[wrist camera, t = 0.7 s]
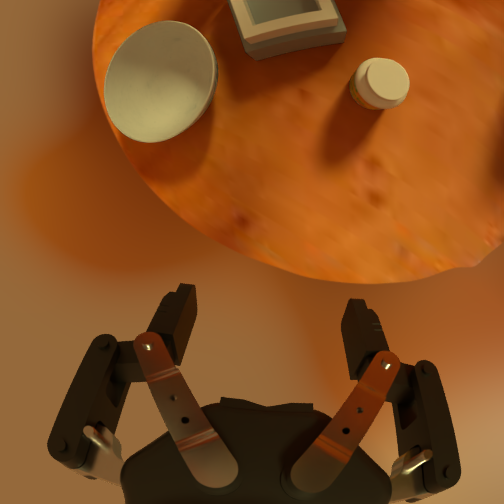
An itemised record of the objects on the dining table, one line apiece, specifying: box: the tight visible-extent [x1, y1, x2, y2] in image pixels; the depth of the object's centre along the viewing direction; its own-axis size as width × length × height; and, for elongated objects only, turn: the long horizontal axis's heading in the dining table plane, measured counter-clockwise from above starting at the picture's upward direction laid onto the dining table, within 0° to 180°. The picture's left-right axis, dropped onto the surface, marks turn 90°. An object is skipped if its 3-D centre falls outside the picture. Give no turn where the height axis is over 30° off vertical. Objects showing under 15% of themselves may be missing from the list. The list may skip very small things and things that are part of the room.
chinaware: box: [104, 21, 218, 143], centre depth 27 cm, size 15×15×8 cm
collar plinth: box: [227, 0, 347, 61], centre depth 20 cm, size 11×11×8 cm
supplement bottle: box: [349, 58, 410, 110], centre depth 22 cm, size 5×5×10 cm
